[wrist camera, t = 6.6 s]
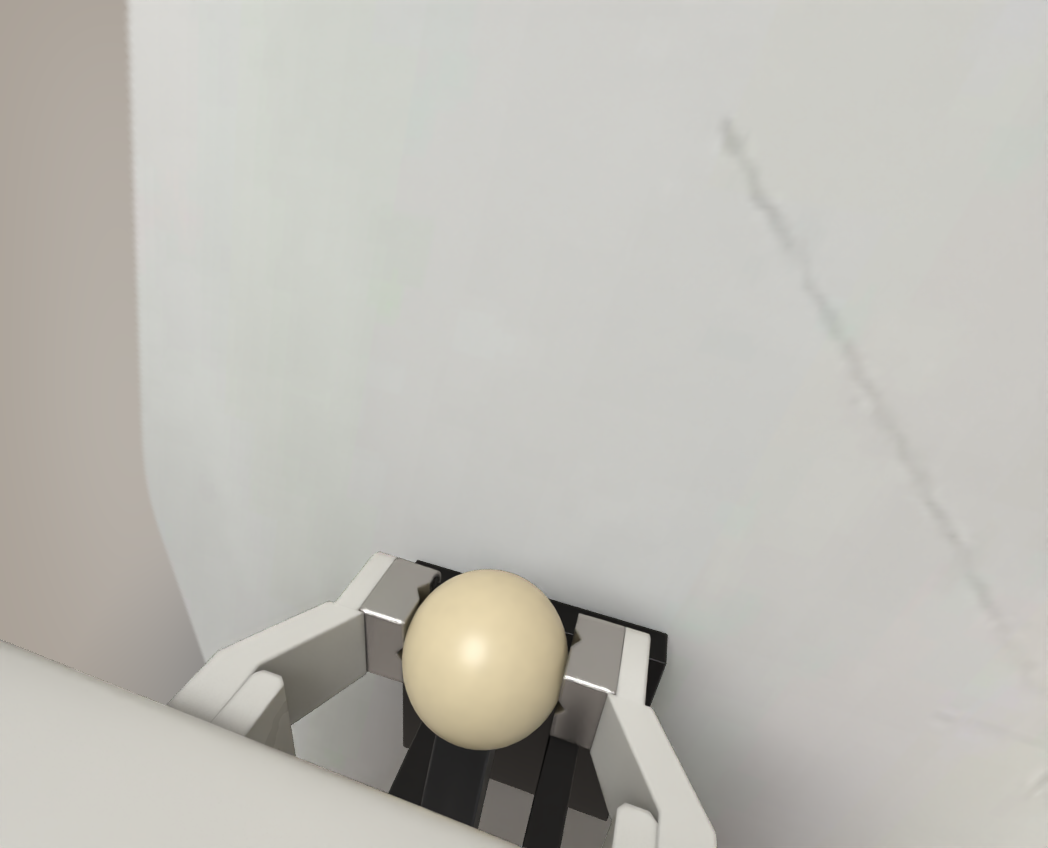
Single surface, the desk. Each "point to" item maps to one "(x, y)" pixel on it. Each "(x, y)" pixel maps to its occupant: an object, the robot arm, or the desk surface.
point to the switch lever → (480, 679)
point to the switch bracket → (531, 750)
